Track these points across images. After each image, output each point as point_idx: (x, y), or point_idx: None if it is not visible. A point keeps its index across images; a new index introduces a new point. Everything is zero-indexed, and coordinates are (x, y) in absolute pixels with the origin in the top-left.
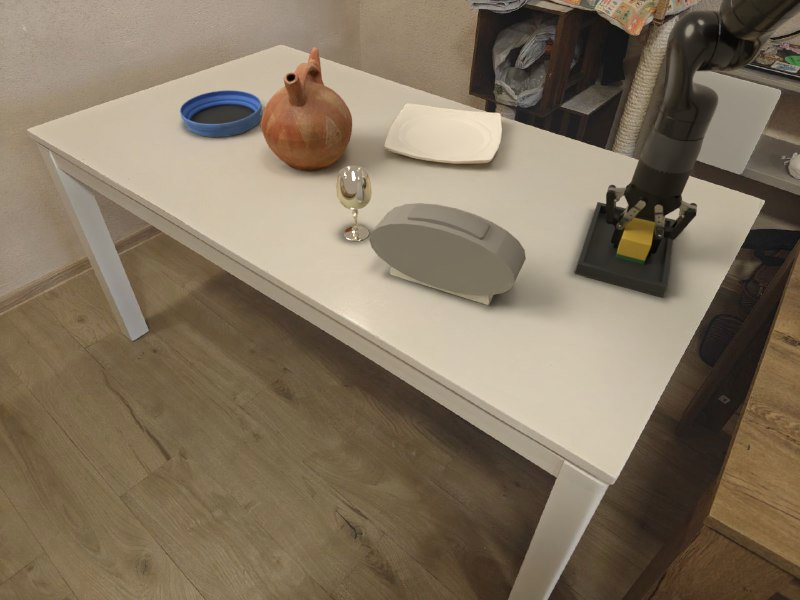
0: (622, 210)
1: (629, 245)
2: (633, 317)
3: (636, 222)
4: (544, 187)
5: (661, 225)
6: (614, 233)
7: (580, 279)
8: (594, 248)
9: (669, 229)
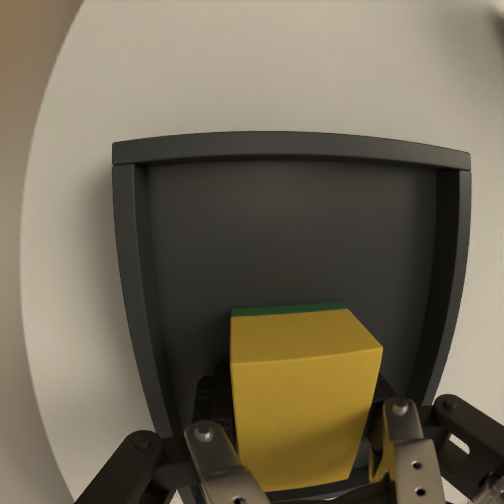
0: (333, 491)
1: (331, 337)
2: (221, 10)
3: (316, 469)
4: (465, 451)
5: (216, 486)
6: (386, 387)
7: (421, 133)
8: (409, 314)
9: (171, 476)
